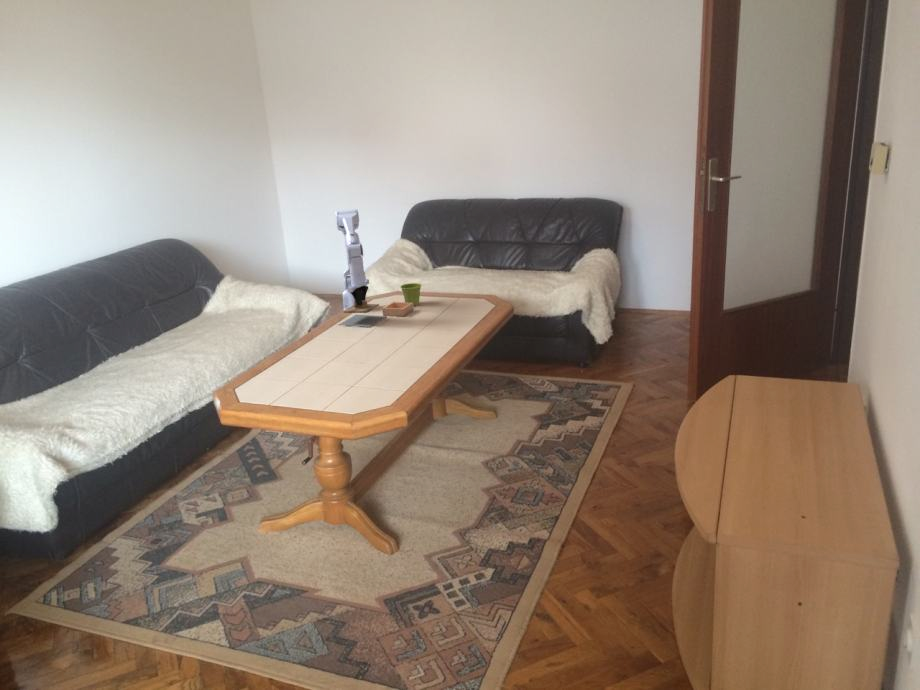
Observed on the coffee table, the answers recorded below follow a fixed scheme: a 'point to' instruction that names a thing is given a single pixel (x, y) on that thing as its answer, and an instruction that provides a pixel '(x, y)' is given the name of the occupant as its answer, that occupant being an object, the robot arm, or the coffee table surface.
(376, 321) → the mat
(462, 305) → the coffee table surface
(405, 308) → the dish
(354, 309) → the lid
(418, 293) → the plant pot
